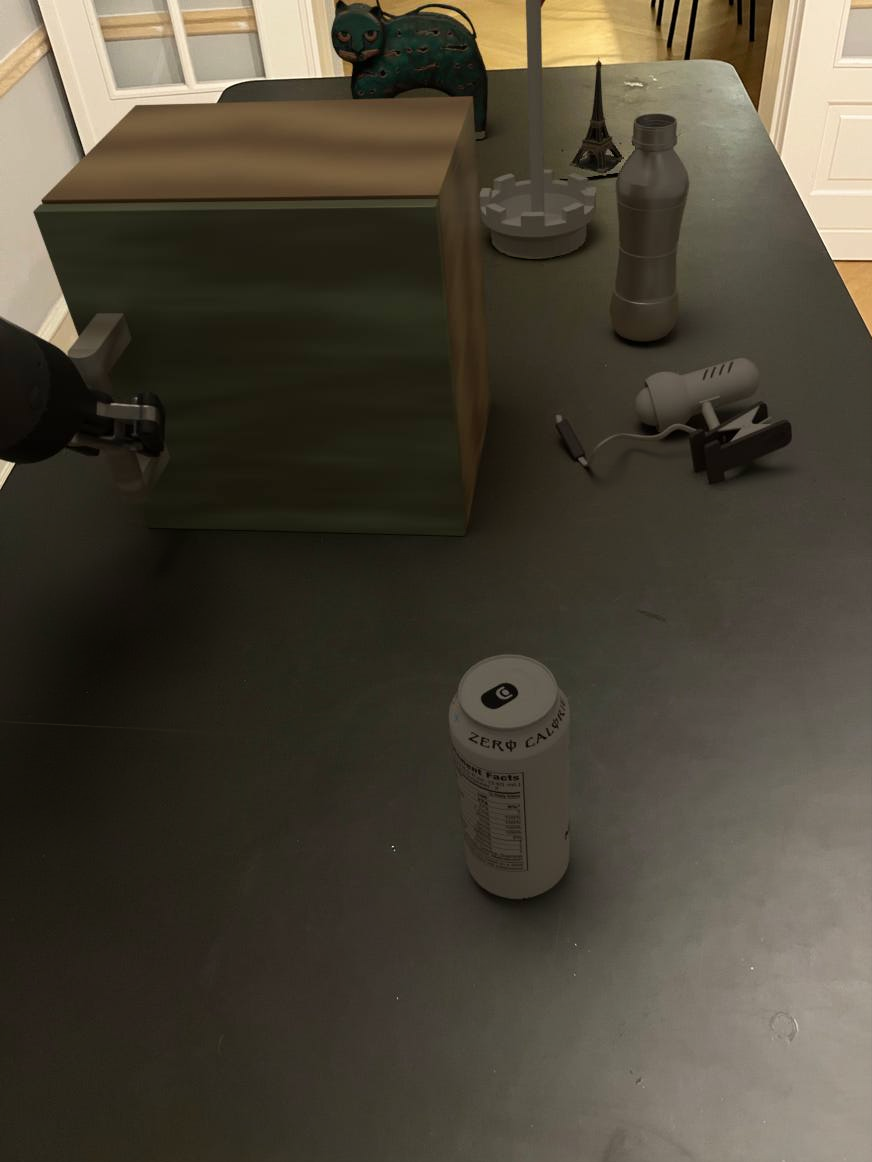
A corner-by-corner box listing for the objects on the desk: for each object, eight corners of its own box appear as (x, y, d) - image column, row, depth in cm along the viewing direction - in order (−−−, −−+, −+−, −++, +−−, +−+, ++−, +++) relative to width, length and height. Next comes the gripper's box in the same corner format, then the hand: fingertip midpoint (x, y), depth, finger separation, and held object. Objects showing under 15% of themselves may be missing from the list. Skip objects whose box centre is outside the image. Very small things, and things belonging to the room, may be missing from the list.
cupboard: (467, 526, 83) (438, 194, 65) (153, 518, 87) (40, 199, 68) (491, 403, 96) (472, 96, 77) (216, 400, 99) (135, 104, 81)
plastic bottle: (622, 313, 107) (630, 104, 92) (685, 324, 104) (704, 111, 90) (599, 343, 103) (604, 129, 88) (664, 355, 100) (680, 138, 86)
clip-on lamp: (584, 527, 87) (797, 464, 85) (569, 473, 82) (794, 404, 80) (558, 438, 94) (753, 378, 92) (543, 383, 90) (748, 319, 87)
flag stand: (563, 272, 114) (562, -50, 93) (461, 252, 119) (438, -58, 98) (613, 225, 122) (623, -82, 100) (515, 208, 127) (505, -88, 106)
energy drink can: (591, 870, 60) (595, 697, 50) (507, 927, 58) (493, 758, 47) (528, 803, 64) (520, 628, 53) (447, 854, 62) (421, 682, 51)
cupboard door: (455, 587, 78) (420, 249, 60) (121, 576, 81) (-9, 252, 63) (466, 526, 83) (438, 198, 65) (152, 519, 86) (39, 203, 68)
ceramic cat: (346, 153, 143) (322, -15, 129) (350, 136, 148) (327, -28, 133) (491, 143, 142) (482, -26, 128) (490, 127, 147) (482, -39, 133)
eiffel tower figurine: (642, 144, 139) (648, 32, 130) (664, 172, 132) (671, 55, 122) (532, 157, 138) (530, 45, 129) (548, 186, 131) (547, 70, 121)
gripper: (107, 315, 57) (222, 391, 74) (-133, 315, 58) (34, 389, 75) (102, 453, 57) (218, 496, 74) (-138, 449, 58) (30, 492, 76)
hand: (124, 442), depth 75 cm, fingers open, 4 cm apart
